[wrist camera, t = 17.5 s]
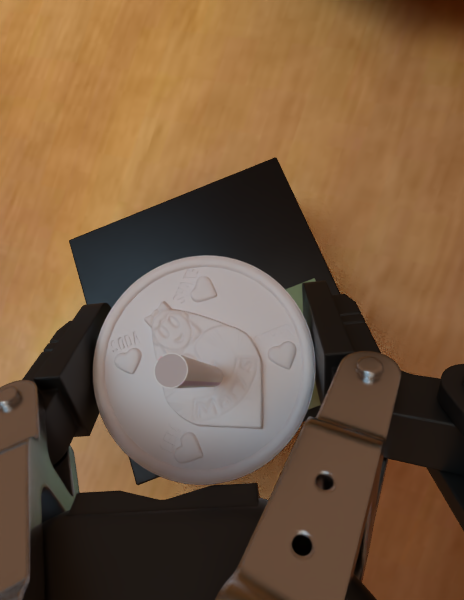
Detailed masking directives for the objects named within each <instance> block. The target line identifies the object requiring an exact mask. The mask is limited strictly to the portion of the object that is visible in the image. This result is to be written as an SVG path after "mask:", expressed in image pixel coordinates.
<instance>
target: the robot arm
mask: <svg viewBox="0 0 464 600" xmlns="http://www.w3.org/2000/svg"><path fill="white" fill-rule="evenodd" d="M302 300H303V316H304V318H305V320H306V323H307V325H308V328H309V330H310V334H311V337H312V341H313V346H314V352H315V383H316V387H317V391H318V395H319V400H320V404H321V407H320V410H319V412H318V414H317V416H316V418H314V417H311V416H310V417H308V418H307V420H306V421H305V423H304V425H303V427H302V429H301V431H300V433H299V435H298V438H297V440H296V442H295V444H294V446H293V448H292V451H291V453H290V455H289V457H288V459H287V461H286V464H285V466H284V468H283V470H282V472H281V474H280V477H279V479H278V481H277V483H276V485H275V487H274V490H273V492H272V494H271V496H270V498H269V500H266V499H262V498H260V497H259V491H258V485H257V483H249V484H231V485H213V486H208V487H205V488H202V489H199V490H195V491H192V492H189V493H186V494H183V495H179V496H176V497H173V498H170V499H166V500H157V499H153V498H149V497H145V496H140V495H136V494H132V493H127V492H123V491H105V492H87V493H79V486H78V478H77V471H76V464H75V457H74V451H73V449H72V447H71V446H70V443H71V441H72V439H73V437H80V436H90V434H91V431H92V429H93V427H94V424H95V422H96V420H97V417H98V415H99V409H98V406H97V402H96V398H95V393H94V386H93V359H94V353H95V348H96V344H97V340H98V337H99V334H100V331H101V328H102V326H103V324H104V321H105V319H106V317H107V316H108V314H109V312H110V310H111V307H110V305H109V304H108V303H98V304H88V305H83V306H82V307H81V309H80V310H79V312H78V313H77V315H76V316H75V318H74V319H73V321H69V322H68V323H67V324H65V325H64V326H63V327H61V328H60V329H59V330H58V331H57V332H56V333H55V335H54V336H53V338H52V339H51V340H50V343H48V345H47V346H46V347H45V349H44V352H42V353H41V354H40V356H39V357H38V359H37V360H36V361H35V363H34V364H33V365H32V367H31V368H30V370H29V371H28V372H27V374H26V375H25V377H24V378H23V379H22V380H19V381H15V382H12V383H9V384H6V385H4V386H2V387H0V600H377V599H376V598H375V597H374V596H373V595H372V594H371V593H370V591H369V590H368V589H367V588H366V587H365V586H364V585H363V583H362V580H363V576H364V571H365V567H366V562H367V557H368V553H369V548H370V543H371V538H372V532H373V527H374V521H375V517H376V512H377V508H378V503H379V499H380V494H381V490H382V485H383V481H384V476H385V472H386V467H387V463H388V459H392V460H397V461H401V462H405V463H410V464H414V465H419V466H423V467H427V469H428V471H429V473H430V474H431V476H432V478H433V479H434V481H435V483H436V484H437V486H438V488H439V490H440V491H441V493H442V495H443V496H444V498H445V500H446V502H447V503H448V505H449V507H450V508H451V510H452V512H453V514H454V515H455V517H456V519H457V520H458V522H459V524H460V525H461V527H462V529H463V531H464V364H458V365H454V366H451V367H449V368H447V369H446V370H445V371H444V372H443V374H442V376H441V379H439V378H432V377H425V376H418V375H413V374H409V373H406V372H403V371H401V370H400V368H399V366H398V365H397V363H396V362H395V361H394V360H392V359H391V358H389V357H388V356H386V355H383V354H381V352H380V350H379V348H378V346H377V344H376V342H375V340H374V338H373V336H372V334H371V332H370V330H369V328H368V326H367V324H366V323H365V320H364V318H363V316H362V314H361V312H360V310H359V308H358V306H357V304H356V302H355V301H353V300H352V299H351V298H349V297H348V296H347V295H345V294H339V295H332V294H331V291H330V289H329V286H328V284H327V282H326V281H315V282H305V283H302Z"/></svg>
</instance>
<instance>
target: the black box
mask: <svg viewBox="0 0 464 600" xmlns="http://www.w3.org/2000/svg"><path fill="white" fill-rule="evenodd" d="M69 242H70V246H71V250H72V253H73V257H74V261H75V264H76V268H77V271H78V275H79V279H80V282H81V286H82V289H83V293H84V297H85V300H86V304H87V305H88V304H98V303H108V304H109V305H110V307H111V309H112V307H113V306H114V304H115V303H116V301H117V300H118V299H119V298H120V297H121V295H122V294H123V293H124V292H125V291H126V290H127V289H128V288H129V287H130V286H131V285H132V284H133V283H134V282H136V281H137V280H138V279H139V278H141V277H142V276H144V275H145V274H146V273H148V272H150V271H151V270H153V269H155V268H157V267H159V266H161V265H163V264H166V263H168V262H171V261H174V260H178V259H182V258H186V257H192V256H204V255H207V256H221V257H227V258H232V259H236V260H239V261H242V262H245V263H247V264H250V265H252V266H254V267H256V268H258V269H260V270H261V271H263V272H265V273H266V274H268V275H269V276H271V277H272V278H273V279H274V280H276V281H277V282H278V283H279V284H280V285H281V286H282V287H283V288H284V289H285V290H286V291H287V292H288V293H289V294H290V296H291V297H292V298H293V300H294V301H295V302H296V304H297V305H298V307H299V309H300V310H301V312H302V314H303V300H302V283H305V282H315V281H326V282H327V284H328V286H329V289H330V291H331V294H332V295H339V294H340V292H339V290H338V288H337V286H336V283H335V281H334V279H333V277H332V275H331V273H330V271H329V268H328V266H327V264H326V262H325V260H324V258H323V256H322V254H321V251H320V249H319V247H318V245H317V243H316V241H315V239H314V237H313V234H312V232H311V230H310V228H309V226H308V224H307V222H306V219H305V217H304V215H303V213H302V211H301V209H300V207H299V205H298V202H297V200H296V198H295V196H294V194H293V192H292V190H291V187H290V185H289V183H288V181H287V179H286V177H285V175H284V173H283V170H282V168H281V166H280V164H279V162H278V160H277V158H273V159H270V160H268V161H265V162H263V163H260V164H258V165H255V166H253V167H250V168H248V169H245V170H243V171H240V172H238V173H235V174H233V175H230V176H228V177H225V178H223V179H220V180H218V181H215V182H213V183H211V184H208V185H206V186H203V187H201V188H198V189H196V190H193V191H191V192H188V193H186V194H183V195H181V196H178V197H176V198H173V199H171V200H168V201H166V202H163V203H161V204H158V205H156V206H153V207H151V208H148V209H146V210H143V211H141V212H138V213H136V214H133V215H131V216H128V217H126V218H123V219H121V220H118V221H116V222H113V223H111V224H108V225H106V226H104V227H101V228H99V229H96V230H94V231H91V232H89V233H86V234H84V235H81V236H79V237H76V238H74V239H71V240H69ZM320 407H321V404H320V400H319V395H318V391H317V387H316V383H315V382H314V389H313V393H312V398H311V401H310V404H309V407H308V410H307V413H306V415H305V417H304V419H303V421H302V422H304V421H306V420H307V418H308V417H310V416H311V417H314V418H315V417H316V416H317V414H318V412H319V410H320ZM129 459H130V463H131V466H132V470H133V473H134V477H135V481H136V484H137V485H140V484H142V483H145V482H147V481H150V480H153V479H155V478H158V477H160V476H158V475H156V474H154V473H151V472H150V471H148V470H146V469H145V468H143V467H141V466H140V465H139V464H137V463H136V462H135V461H133V460H132V459H131V458H130V457H129Z"/></svg>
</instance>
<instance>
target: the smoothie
mask: <svg viewBox="0 0 464 600" xmlns="http://www.w3.org/2000/svg"><path fill="white" fill-rule="evenodd" d="M314 382H315V352H314V346H313V341H312V337H311V334H310V330H309V328H308V325H307V323H306V320H305V318H304V316H303V314H302V312H301V310H300V309H299V307H298V305H297V304H296V302H295V301H294V300H293V298H292V297H291V296H290V294H289V293H288V292H287V291H286V290H285V289H284V288H283V287H282V286H281V285H280V284H279V283H278V282H277V281H276V280H274V279H273V278H272V277H271V276H269V275H268V274H266V273H265V272H263V271H261V270H260V269H258V268H256V267H254V266H252V265H250V264H247V263H245V262H242V261H239V260H236V259H232V258H227V257H221V256H207V255H204V256H192V257H186V258H182V259H178V260H174V261H171V262H168V263H166V264H163V265H161V266H159V267H157V268H155V269H153V270H151V271H150V272H148V273H146V274H145V275H144V276H142V277H141V278H139V279H138V280H137V281H136V282H134V283H133V284H132V285H131V286H130V287H129V288H128V289H127V290H126V291H125V292H124V293H123V294H122V295H121V297H120V298H119V299H118V300H117V301H116V303H115V304H114V306H113V307H112V309H111V310H110V312H109V314H108V316H107V317H106V319H105V321H104V324H103V326H102V328H101V331H100V334H99V337H98V340H97V344H96V348H95V353H94V359H93V386H94V393H95V398H96V402H97V406H98V409H99V412H100V415H101V417H102V419H103V422H104V424H105V426H106V428H107V429H108V431H109V433H110V435H111V436H112V437H113V439H114V440H115V442H116V443H117V444H118V445H119V447H120V448H121V449H122V450H123V451H124V452H125V453H126V454H127V455H128V456H129V457H130V458H131V459H132V460H133V461H135V462H136V463H137V464H139V465H140V466H141V467H143V468H145V469H146V470H148V471H150V472H151V473H154V474H156V475H158V476H160V477H163V478H166V479H168V480H171V481H175V482H180V483H185V484H194V485H209V484H218V483H223V482H228V481H232V480H235V479H238V478H241V477H243V476H245V475H248V474H250V473H252V472H254V471H255V470H257V469H259V468H261V467H262V466H264V465H265V464H266V463H268V462H269V461H270V460H272V459H273V458H274V457H275V456H276V455H277V454H278V453H280V452H281V451H282V450H283V448H284V447H285V446H286V445H287V444H288V443H289V442H290V440H291V439H292V438H293V436H294V435H295V433H296V432H297V430H298V429H299V427H300V425H301V423H302V421H303V419H304V417H305V415H306V413H307V410H308V407H309V404H310V401H311V398H312V393H313V389H314Z"/></svg>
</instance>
